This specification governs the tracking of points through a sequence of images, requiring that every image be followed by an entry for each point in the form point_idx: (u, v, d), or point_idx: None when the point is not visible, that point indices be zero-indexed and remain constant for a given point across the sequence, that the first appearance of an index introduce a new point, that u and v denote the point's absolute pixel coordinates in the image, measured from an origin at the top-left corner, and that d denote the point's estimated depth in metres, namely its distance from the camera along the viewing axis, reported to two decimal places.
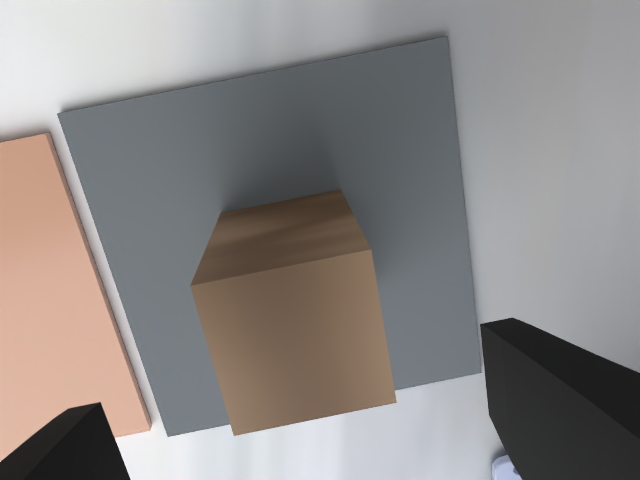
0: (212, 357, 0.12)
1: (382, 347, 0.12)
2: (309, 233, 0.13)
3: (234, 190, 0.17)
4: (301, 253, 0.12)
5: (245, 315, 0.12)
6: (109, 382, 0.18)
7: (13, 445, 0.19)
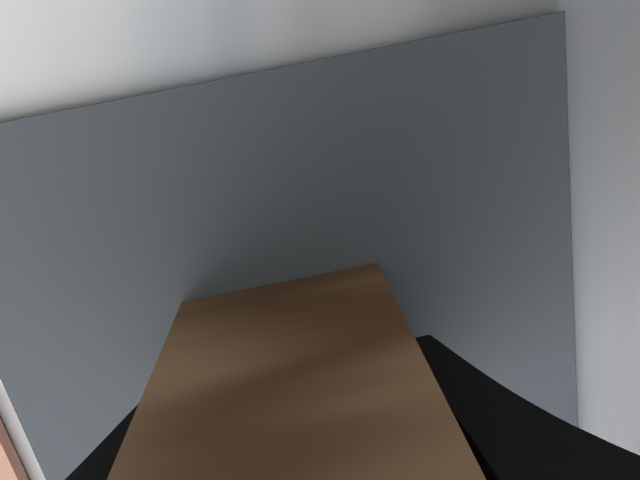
0: None
1: None
2: (336, 393, 0.07)
3: (203, 266, 0.10)
4: (324, 478, 0.05)
5: None
6: None
7: None
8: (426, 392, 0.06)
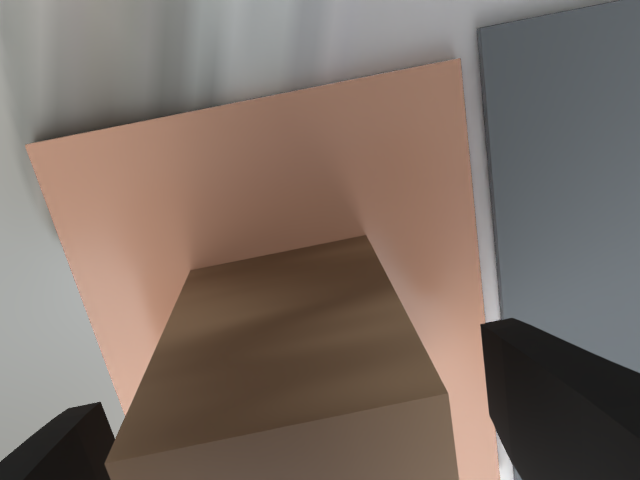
0: None
1: None
2: (325, 331, 0.08)
3: None
4: (314, 389, 0.07)
5: None
6: (463, 416, 0.13)
7: None
8: (401, 328, 0.08)
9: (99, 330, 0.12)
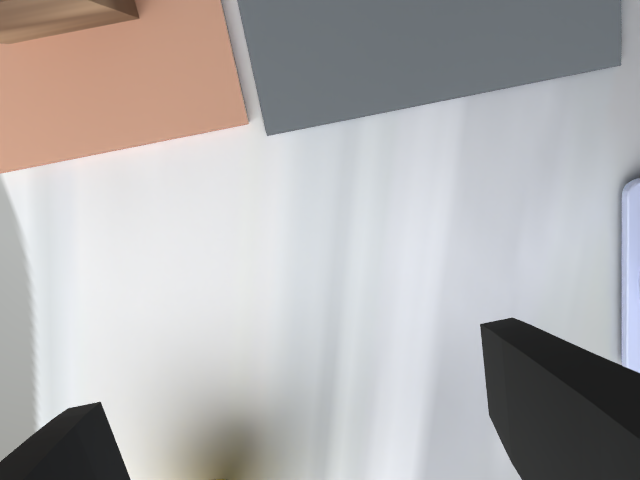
0: None
1: None
2: None
3: None
4: None
5: None
6: (207, 55, 0.16)
7: (94, 137, 0.17)
8: None
9: None
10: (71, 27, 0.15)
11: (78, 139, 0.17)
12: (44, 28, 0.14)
